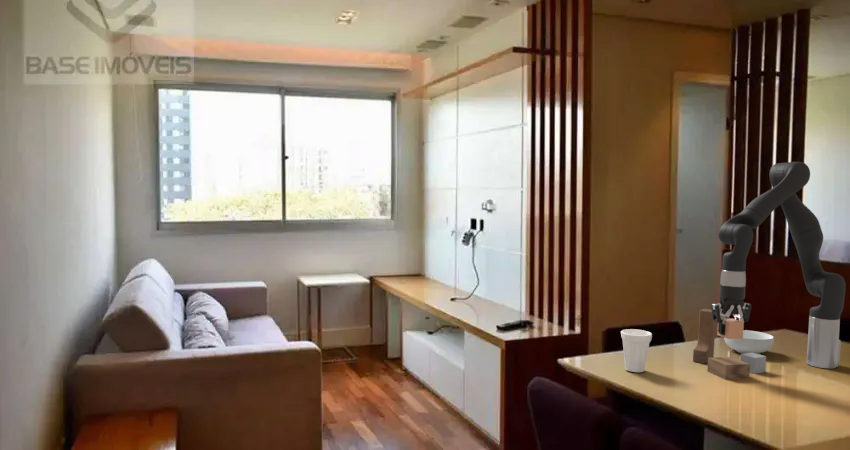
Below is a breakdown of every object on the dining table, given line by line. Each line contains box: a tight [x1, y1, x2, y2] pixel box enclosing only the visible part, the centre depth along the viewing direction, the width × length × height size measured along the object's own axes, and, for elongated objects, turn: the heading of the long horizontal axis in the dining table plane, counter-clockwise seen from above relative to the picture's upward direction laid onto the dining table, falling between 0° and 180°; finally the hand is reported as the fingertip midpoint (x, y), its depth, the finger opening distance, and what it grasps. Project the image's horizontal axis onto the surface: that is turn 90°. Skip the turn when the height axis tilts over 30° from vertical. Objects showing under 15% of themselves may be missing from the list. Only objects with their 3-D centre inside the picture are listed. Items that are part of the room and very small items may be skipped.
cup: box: [620, 328, 653, 373], centre depth 218 cm, size 10×10×13 cm
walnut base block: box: [706, 356, 750, 380], centre depth 216 cm, size 9×9×5 cm
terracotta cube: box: [716, 317, 745, 339], centre depth 215 cm, size 6×6×6 cm
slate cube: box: [740, 352, 767, 375], centre depth 221 cm, size 6×6×6 cm
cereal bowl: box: [723, 329, 775, 355], centre depth 246 cm, size 17×17×7 cm
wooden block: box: [692, 308, 716, 365], centre depth 232 cm, size 9×4×18 cm, turn 139°
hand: (729, 334), depth 215 cm, fingers closed on terracotta cube, 5 cm apart
